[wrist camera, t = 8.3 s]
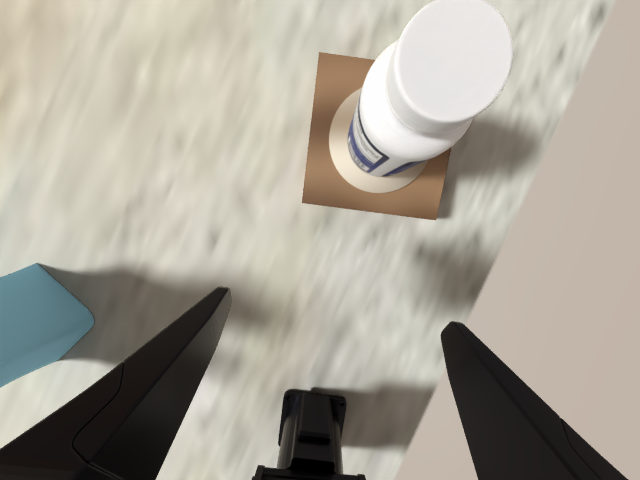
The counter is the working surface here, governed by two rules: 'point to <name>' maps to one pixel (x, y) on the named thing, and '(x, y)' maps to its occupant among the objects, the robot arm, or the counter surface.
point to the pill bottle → (430, 85)
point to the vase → (37, 322)
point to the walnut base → (336, 164)
